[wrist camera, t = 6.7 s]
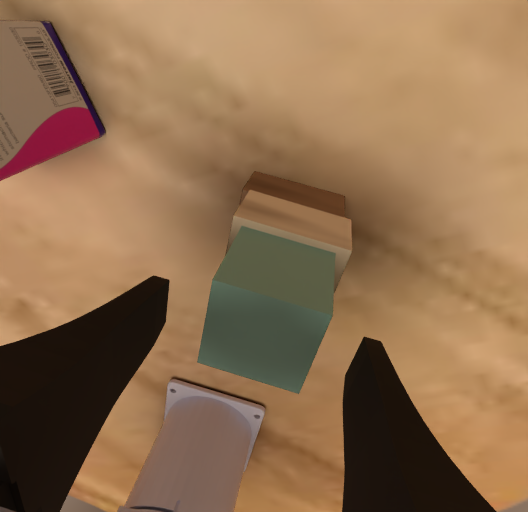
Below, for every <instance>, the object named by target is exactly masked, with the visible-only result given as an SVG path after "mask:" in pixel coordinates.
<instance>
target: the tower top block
mask: <svg viewBox="0 0 528 512" xmlns="http://www.w3.org/2000/svg"><path fill="white" fill-rule="evenodd" d="M241 226H244V227H248V228H251V229H255V230H258V231H261V232H265V233H268V234H272V235H275V236H279V237H282V238H285V239H289V240H292V241H296V242H299V243H302V244H306V245H309V246H313V247H316V248H319V249H323V250H326V251H330V252H333V253H336V254H335V275H334V292H335V290H336V288H337V285H338V283H339V281H340V278H341V276H342V274H343V271H344V269H345V267H346V264H347V262H348V260H349V257H350V255H351V253H352V223H351V219H347V218H344V217H341V216H337V215H334V214H330V213H327V212H324V211H320V210H317V209H314V208H310V207H307V206H303V205H300V204H297V203H293V202H290V201H287V200H283V199H280V198H276V197H273V196H270V195H266V194H263V193H260V192H256V191H253V190H249V192H248V193H247V195H246V196H245V198H244V200H243V201H242V203H241V205H240V206H239V208H238V209H237V211H236V213H235V214H234V216H233V221H232V226H231V231H230V236H229V240H228V245H227V250H226V254H227V252H228V250H229V248H230V247H231V245H232V243H233V241H234V239H235V237H236V235H237V234H238V232H239V230H240V228H241ZM225 256H226V255H225Z"/></svg>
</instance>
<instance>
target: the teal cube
mask: <svg viewBox="0 0 528 512" xmlns="http://www.w3.org/2000/svg"><path fill="white" fill-rule="evenodd" d="M335 254H336V253H333V252H330V251H326V250H323V249H319V248H316V247H313V246H309V245H306V244H302V243H299V242H296V241H292V240H289V239H285V238H282V237H279V236H275V235H272V234H268V233H265V232H261V231H258V230H255V229H251V228H248V227H244V226H241V228H240V230H239V232H238V234H237V235H236V237H235V239H234V241H233V243H232V245H231V247H230V248H229V250H228V252H227V254H226V256H225V258H224V260H223V261H222V263H221V265H220V267H219V269H218V271H217V273H216V274H215V276H214V278H213V280H212V286H211V291H210V297H209V302H208V307H207V313H206V318H205V324H204V329H203V334H202V340H201V345H200V350H199V356H198V361H197V363H201V364H204V365H207V366H210V367H214V368H217V369H220V370H223V371H227V372H230V373H233V374H236V375H239V376H243V377H246V378H249V379H252V380H256V381H259V382H262V383H265V384H269V385H272V386H275V387H278V388H282V389H285V390H288V391H291V392H294V393H298V394H299V392H300V390H301V388H302V385H303V383H304V381H305V379H306V376H307V374H308V372H309V369H310V367H311V365H312V362H313V360H314V358H315V355H316V353H317V351H318V348H319V346H320V344H321V341H322V339H323V337H324V334H325V332H326V330H327V327H328V325H329V323H330V320H331V318H332V316H333V296H334V275H335Z"/></svg>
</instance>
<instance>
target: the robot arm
mask: <svg viewBox="0 0 528 512" xmlns="http://www.w3.org/2000/svg"><path fill="white" fill-rule="evenodd" d="M168 291H169V280H167V279H164V278H161V277H157V276H152V277H150V278H148V279H147V280H145V281H143V282H142V283H140V284H138V285H137V286H135V287H133V288H132V289H130V290H129V291H127V292H125V293H124V294H122V295H120V296H118V297H117V298H115V299H113V300H111V301H110V302H108V303H106V304H104V305H103V306H101V307H99V308H97V309H95V310H93V311H91V312H89V313H87V314H85V315H83V316H81V317H79V318H77V319H75V320H73V321H70V322H68V323H66V324H63V325H61V326H58V327H56V328H54V329H51V330H48V331H46V332H43V333H40V334H37V335H34V336H31V337H28V338H25V339H22V340H20V341H16V342H13V343H10V344H6V345H3V346H0V512H60V510H61V508H62V505H63V503H64V501H65V499H66V497H67V495H68V493H69V491H70V489H71V487H72V485H73V483H74V481H75V479H76V477H77V475H78V473H79V471H80V469H81V466H82V464H83V462H84V460H85V458H86V457H87V455H88V453H89V451H90V449H91V447H92V445H93V443H94V441H95V439H96V437H97V435H98V433H99V432H100V430H101V428H102V426H103V424H104V422H105V421H106V419H107V417H108V415H109V413H110V411H111V409H112V408H113V406H114V404H115V403H116V401H117V399H118V398H119V396H120V395H121V393H122V392H123V390H124V389H125V387H126V386H127V384H128V383H129V381H130V380H131V378H132V377H133V376H134V374H135V373H136V371H137V370H138V368H139V367H140V365H141V364H142V362H143V361H144V359H145V358H146V356H147V355H148V353H149V352H150V350H151V349H152V347H153V346H154V344H155V342H156V340H157V338H158V336H159V334H160V332H161V330H162V328H163V326H164V324H165V322H166V313H167V302H168ZM264 414H265V408H264V407H263V406H261V405H258V404H255V403H252V402H248V401H245V400H242V399H239V398H235V397H232V396H229V395H226V394H222V393H219V392H216V391H212V390H209V389H206V388H203V387H199V386H196V385H193V384H189V383H186V382H183V381H180V380H176V379H171V380H170V381H169V383H168V387H167V396H166V406H165V415H164V423H163V425H162V427H161V430H160V432H159V434H158V436H157V438H156V440H155V442H154V444H153V446H152V449H151V451H150V453H149V455H148V457H147V459H146V461H145V463H144V465H143V468H142V470H141V472H140V474H139V476H138V478H137V480H136V482H135V484H134V487H133V489H132V491H131V493H130V495H129V497H128V499H127V501H126V504H125V506H120V507H119V509H118V511H117V512H234V508H235V504H236V500H237V496H238V492H239V487H240V483H241V479H242V475H243V472H245V470H246V467H247V464H248V461H249V458H250V455H251V452H252V449H253V446H254V443H255V440H256V437H257V435H258V432H259V429H260V426H261V423H262V420H263V417H264ZM343 432H344V462H345V474H344V493H343V508H342V512H496V511H495V510H494V509H493V507H492V506H491V505H490V504H489V503H488V502H487V501H486V500H485V499H484V498H483V497H482V496H481V495H480V493H479V492H478V491H477V490H476V489H475V488H474V487H473V485H472V484H471V483H470V482H469V481H468V480H467V478H466V477H465V476H464V475H463V474H462V472H461V471H460V470H459V469H458V467H457V466H456V465H455V464H454V462H453V461H452V460H451V459H450V457H449V456H448V455H447V453H446V452H445V451H444V450H443V448H442V447H441V445H440V444H439V443H438V441H437V440H436V438H435V437H434V436H433V434H432V433H431V431H430V430H429V428H428V427H427V425H426V424H425V422H424V421H423V419H422V417H421V416H420V414H419V413H418V411H417V409H416V408H415V406H414V404H413V403H412V401H411V399H410V397H409V395H408V394H407V392H406V390H405V388H404V386H403V384H402V383H401V381H400V379H399V377H398V375H397V373H396V371H395V369H394V367H393V365H392V363H391V361H390V359H389V357H388V355H387V353H386V350H385V348H384V346H383V344H382V343H381V341H377V340H374V339H370V338H367V337H364V338H363V340H362V342H361V344H360V346H359V348H358V350H357V352H356V354H355V356H354V358H353V360H352V362H351V364H350V366H349V369H348V371H347V373H346V375H345V383H344V393H343Z"/></svg>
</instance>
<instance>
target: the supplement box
mask: <svg viewBox="0 0 528 512" xmlns="http://www.w3.org/2000/svg"><path fill="white" fill-rule="evenodd" d="M104 134H105V130H104V128H103V126H102V124H101V122H100V120H99V118H98V116H97V114H96V112H95V110H94V108H93V106H92V104H91V102H90V100H89V98H88V96H87V94H86V92H85V90H84V88H83V86H82V84H81V82H80V80H79V79H78V77H77V75H76V73H75V71H74V69H73V67H72V65H71V63H70V61H69V59H68V57H67V55H66V53H65V51H64V49H63V47H62V45H61V43H60V41H59V40H58V37H57V36H56V34H55V32H54V29H53V27H52V26H51V24H50V22H49V21H48V22H47V21H7V20H0V181H1V180H3V179H6V178H8V177H10V176H12V175H15V174H17V173H19V172H22V171H24V170H26V169H28V168H30V167H33V166H35V165H37V164H40V163H42V162H44V161H47V160H49V159H51V158H54V157H56V156H58V155H60V154H63V153H65V152H67V151H70V150H72V149H74V148H76V147H79V146H81V145H83V144H86V143H88V142H90V141H92V140H95V139H97V138H100V137H102V136H103V135H104Z"/></svg>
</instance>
